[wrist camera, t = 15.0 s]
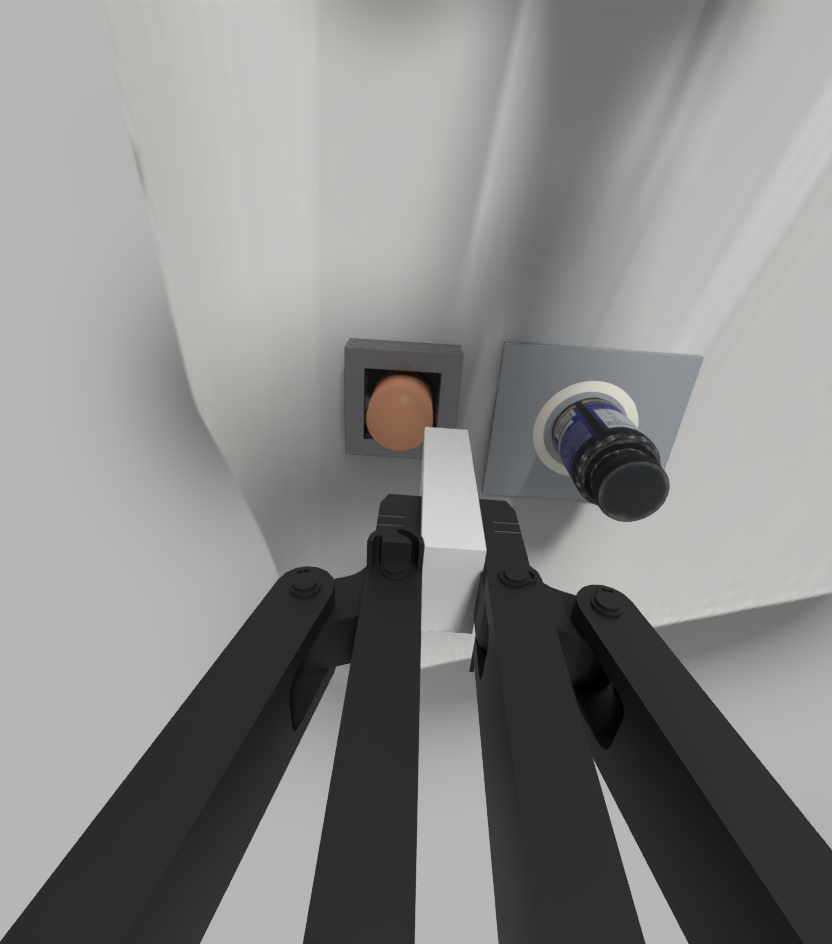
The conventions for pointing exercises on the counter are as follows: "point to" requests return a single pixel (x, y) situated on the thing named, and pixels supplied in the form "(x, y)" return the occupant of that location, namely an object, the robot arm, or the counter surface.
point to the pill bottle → (610, 459)
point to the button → (400, 410)
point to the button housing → (405, 359)
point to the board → (564, 382)
